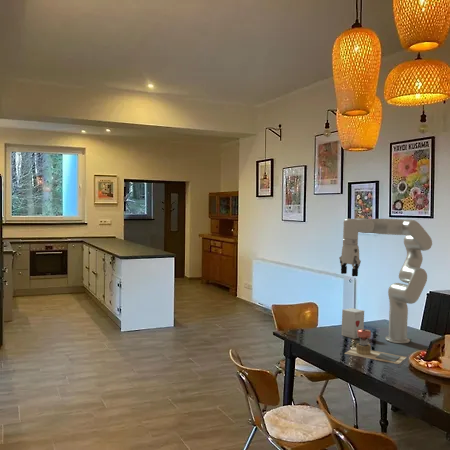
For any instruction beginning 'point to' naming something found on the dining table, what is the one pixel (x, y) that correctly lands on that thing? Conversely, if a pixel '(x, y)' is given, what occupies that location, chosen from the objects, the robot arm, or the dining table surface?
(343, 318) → the supplement box
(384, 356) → the board
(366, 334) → the peg
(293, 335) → the dining table surface
